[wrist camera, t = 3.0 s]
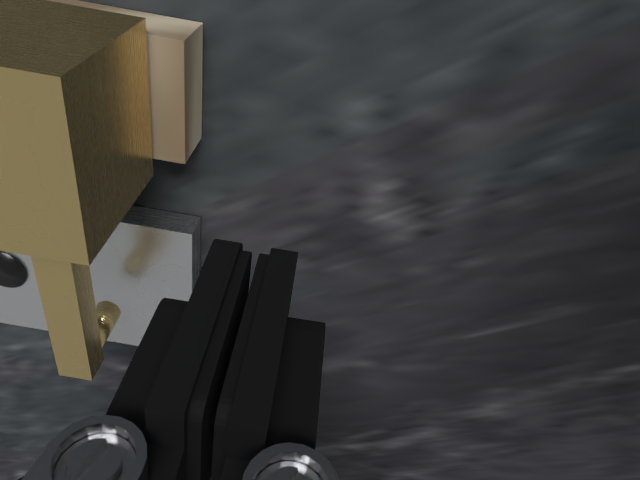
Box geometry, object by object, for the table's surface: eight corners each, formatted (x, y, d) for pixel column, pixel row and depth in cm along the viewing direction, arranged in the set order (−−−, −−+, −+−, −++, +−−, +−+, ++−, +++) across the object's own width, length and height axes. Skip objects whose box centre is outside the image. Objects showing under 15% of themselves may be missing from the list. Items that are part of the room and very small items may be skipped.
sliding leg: (145, 18, 14) (59, 76, 10) (161, 321, 22) (113, 423, 18) (1, -8, 14) (-139, 41, 10) (64, 305, 21) (-4, 403, 18)
